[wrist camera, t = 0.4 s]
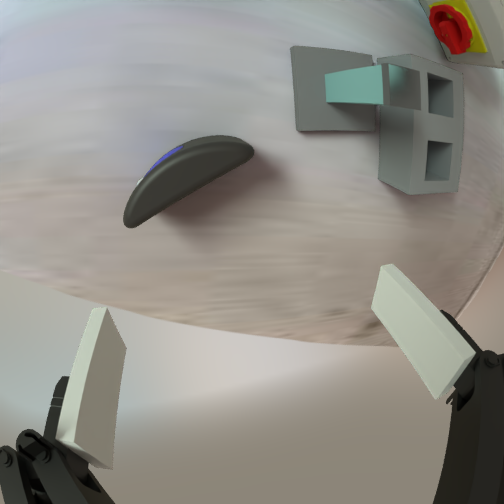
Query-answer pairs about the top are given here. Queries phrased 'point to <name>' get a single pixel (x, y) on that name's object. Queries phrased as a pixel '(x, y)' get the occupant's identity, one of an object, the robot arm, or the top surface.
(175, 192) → the dark grey curved block
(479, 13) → the electrical switch box
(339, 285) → the top surface
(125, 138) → the top surface
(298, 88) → the block
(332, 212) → the top surface
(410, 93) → the plug
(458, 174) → the junction block
